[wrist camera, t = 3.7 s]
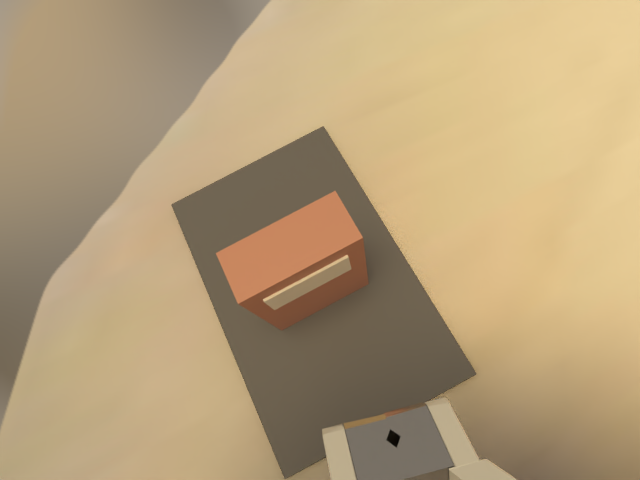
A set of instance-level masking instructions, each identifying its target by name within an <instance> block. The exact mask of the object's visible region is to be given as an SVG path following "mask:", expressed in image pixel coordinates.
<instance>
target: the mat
mask: <svg viewBox="0 0 640 480" xmlns="http://www.w3.org/2000/svg"><path fill="white" fill-rule="evenodd" d="M334 191H336V193H337V194H338V196H339V198H340V199H341V201H342V203H343V204H344V206H345V208H346V210H347V211H348V213H349V215H350V216H351V218H352V220H353V221H354V223H355V225H356V227H357V228H358V230H359V232H360V233H361V235H362V237H363V241H364V250H365V258H366V266H367V274H368V283H369V284H368V285H366V286H364V287H362V288H361V289H359V290H357V291H355V292H353V293H351V294H349V295H347V296H346V297H344V298H342V299H340V300H338V301H336V302H334V303H332V304H331V305H329V306H327V307H325V308H323V309H321V310H319V311H317V312H316V313H314V314H312V315H310V316H308V317H306V318H304V319H303V320H301V321H299V322H297V323H295V324H293V325H291V326H289V327H288V328H286V329H284V330H280V329H278V328H277V327H275V326H273V325H272V324H270V323H268V322H267V321H265V320H264V319H262V318H260V317H259V316H257V315H255V314H254V313H252V312H250V311H249V310H247V309H245V308H244V307H242V306H241V305H239V304H238V303H237V301H236V298H235V296H234V294H233V291H232V289H231V287H230V285H229V282H228V280H227V278H226V275H225V273H224V271H223V269H222V266H221V264H220V262H219V259H218V257H217V255H216V253H217V252H219V251H221V250H223V249H225V248H227V247H229V246H230V245H232V244H234V243H236V242H238V241H240V240H242V239H244V238H246V237H248V236H250V235H251V234H253V233H255V232H257V231H259V230H261V229H263V228H265V227H267V226H269V225H271V224H272V223H274V222H276V221H278V220H280V219H282V218H284V217H286V216H288V215H290V214H292V213H293V212H295V211H297V210H299V209H301V208H303V207H305V206H307V205H309V204H311V203H313V202H314V201H316V200H318V199H320V198H322V197H324V196H326V195H328V194H330V193H332V192H334ZM172 207H173V210H174V212H175V215H176V217H177V220H178V222H179V224H180V227H181V229H182V232H183V234H184V236H185V239H186V241H187V244H188V246H189V249H190V251H191V253H192V256H193V258H194V261H195V263H196V265H197V268H198V270H199V273H200V275H201V278H202V280H203V282H204V285H205V287H206V290H207V292H208V294H209V297H210V299H211V302H212V304H213V307H214V309H215V311H216V314H217V316H218V319H219V321H220V323H221V326H222V328H223V331H224V333H225V336H226V338H227V340H228V343H229V345H230V348H231V350H232V352H233V355H234V357H235V360H236V362H237V365H238V367H239V369H240V372H241V374H242V377H243V379H244V381H245V384H246V386H247V389H248V391H249V394H250V396H251V398H252V401H253V403H254V406H255V408H256V411H257V413H258V415H259V418H260V420H261V423H262V425H263V427H264V430H265V432H266V435H267V437H268V440H269V442H270V444H271V447H272V449H273V452H274V454H275V456H276V459H277V461H278V464H279V466H280V469H281V471H282V473H283V476H284V478H285V479H286V478H288V477H290V476H292V475H293V474H295V473H297V472H299V471H301V470H303V469H304V468H306V467H308V466H310V465H312V464H314V463H315V462H317V461H319V460H321V459H323V458H324V457H326V452H325V447H324V441H323V435H322V429H324V428H328V427H331V426H335V425H339V424H343V426H344V423H348V422H352V421H356V420H360V419H364V418H369V417H373V416H377V415H381V414H384V413H385V412H389V411H393V410H396V409H400V408H403V407H407V406H410V405H414V404H418V403H421V402H426V401H428V400H430V399H432V398H434V397H436V396H437V395H439V394H441V393H443V392H445V391H447V390H448V389H450V388H452V387H454V386H456V385H457V384H459V383H461V382H463V381H465V380H467V379H468V378H470V377H472V376H474V375H476V372H475V371H474V369H473V367H472V366H471V364H470V363H469V361H468V359H467V358H466V356H465V354H464V353H463V351H462V350H461V348H460V346H459V345H458V343H457V341H456V340H455V338H454V337H453V335H452V333H451V332H450V330H449V329H448V327H447V325H446V324H445V322H444V320H443V319H442V317H441V316H440V314H439V312H438V311H437V309H436V308H435V306H434V304H433V303H432V301H431V299H430V298H429V296H428V295H427V293H426V291H425V290H424V288H423V286H422V285H421V283H420V282H419V280H418V278H417V277H416V275H415V274H414V272H413V270H412V269H411V267H410V265H409V264H408V262H407V261H406V259H405V257H404V256H403V254H402V252H401V251H400V249H399V248H398V246H397V244H396V243H395V241H394V240H393V238H392V236H391V235H390V233H389V231H388V230H387V228H386V227H385V225H384V223H383V222H382V220H381V219H380V217H379V215H378V214H377V212H376V210H375V209H374V207H373V206H372V204H371V202H370V201H369V199H368V197H367V196H366V194H365V193H364V191H363V189H362V188H361V186H360V185H359V183H358V181H357V180H356V178H355V176H354V175H353V173H352V172H351V170H350V168H349V167H348V165H347V164H346V162H345V160H344V159H343V157H342V155H341V154H340V152H339V151H338V149H337V147H336V146H335V144H334V142H333V141H332V139H331V138H330V136H329V134H328V133H327V131H326V130H325V128H324V126H323V127H321V128H319V129H317V130H315V131H313V132H311V133H309V134H307V135H305V136H303V137H301V138H299V139H297V140H295V141H294V142H292V143H290V144H288V145H286V146H284V147H282V148H280V149H278V150H276V151H274V152H272V153H270V154H268V155H266V156H264V157H263V158H261V159H259V160H257V161H255V162H253V163H251V164H249V165H247V166H245V167H243V168H241V169H239V170H237V171H235V172H234V173H232V174H230V175H228V176H226V177H224V178H222V179H220V180H218V181H216V182H214V183H212V184H210V185H208V186H206V187H204V188H203V189H201V190H199V191H197V192H195V193H193V194H191V195H189V196H187V197H185V198H183V199H181V200H179V201H177V202H175V203H174V204H172ZM344 430H345V428H344ZM345 434H346V433H345ZM346 438H347V437H346ZM347 442H348V441H347Z"/></svg>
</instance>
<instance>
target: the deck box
mask: <svg viewBox="0 0 640 480" xmlns="http://www.w3.org/2000/svg"><path fill="white" fill-rule="evenodd" d="M216 255H217V257H218V259H219V262H220V264H221V266H222V269H223V271H224V273H225V275H226V278H227V280H228V282H229V285H230V287H231V289H232V291H233V294H234V296H235V298H236V301H237V303H238V304H239V305H241V306H242V307H244V308H245V309H247V310H249V311H250V312H252V313H254V314H255V315H257V316H259V317H260V318H262V319H264V320H265V321H267V322H268V323H270V324H272V325H273V326H275V327H277V328H278V329H280V330H284V329H286V328H288V327H289V326H291V325H293V324H295V323H297V322H299V321H301V320H303V319H304V318H306V317H308V316H310V315H312V314H314V313H316V312H317V311H319V310H321V309H323V308H325V307H327V306H329V305H331V304H332V303H334V302H336V301H338V300H340V299H342V298H344V297H346V296H347V295H349V294H351V293H353V292H355V291H357V290H359V289H361V288H362V287H364V286H366V285H368V284H369V283H368V274H367V266H366V258H365V250H364V241H363V237H362V235H361V233H360V232H359V230H358V228H357V227H356V225H355V223H354V221H353V220H352V218H351V216H350V215H349V213H348V211H347V210H346V208H345V206H344V204H343V203H342V201H341V199H340V198H339V196H338V194H337V193H336V191H334V192H332V193H330V194H328V195H326V196H324V197H322V198H320V199H318V200H316V201H314V202H313V203H311V204H309V205H307V206H305V207H303V208H301V209H299V210H297V211H295V212H293V213H292V214H290V215H288V216H286V217H284V218H282V219H280V220H278V221H276V222H274V223H272V224H271V225H269V226H267V227H265V228H263V229H261V230H259V231H257V232H255V233H253V234H251V235H250V236H248V237H246V238H244V239H242V240H240V241H238V242H236V243H234V244H232V245H230V246H229V247H227V248H225V249H223V250H221V251H219V252H217V253H216Z"/></svg>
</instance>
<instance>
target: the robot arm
mask: <svg viewBox="0 0 640 480" xmlns="http://www.w3.org/2000/svg"><path fill="white" fill-rule="evenodd" d="M344 428H345V430H344ZM345 433H346V434H345ZM322 435H323V441H324V447H325V452H326V457H327V463H328V468H329V473H330V479H331V480H517V479H516V478H514V477H513V476H511V475H510V474H508V473H507V472H506V471H504V470H503V469H501V468H500V467H498V466H497V465H495V464H494V463H492V462H491V461H489V460H488V459H487V458H486V459H482V460H480V459H479V457H478V455H477V453H476V451H475V449H474V448H473V446H472V444H471V442H470V440H469V438H468V436H467V434H466V432H465V430H464V429H463V427H462V425H461V423H460V421H459V419H458V417H457V415H456V413H455V412H454V410H453V408H452V406H451V404H450V402H449V400H448V399H447V398H445V397H442V398H438V399H435V400H431V401H428V402H421V403H418V404H414V405H410V406H407V407H403V408H400V409H396V410H393V411H389V412H385V413H384V414H381V415H377V416H373V417H369V418H364V419H360V420H356V421H352V422H348V423H344V426H343V424H339V425H335V426H331V427H328V428H324V429H322ZM346 437H347V438H346ZM347 441H348V442H347ZM348 445H349V446H348ZM349 449H350V450H349ZM350 453H351V454H350Z"/></svg>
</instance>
